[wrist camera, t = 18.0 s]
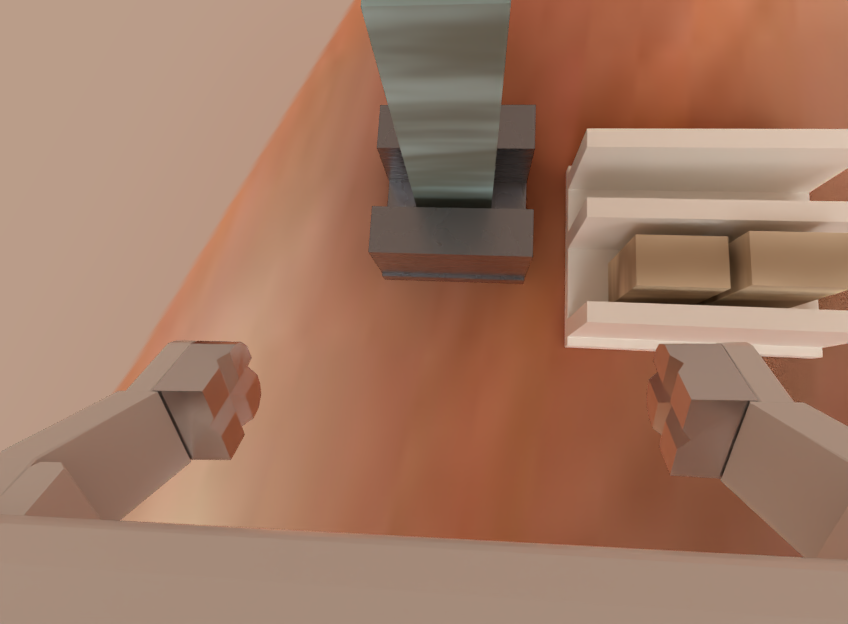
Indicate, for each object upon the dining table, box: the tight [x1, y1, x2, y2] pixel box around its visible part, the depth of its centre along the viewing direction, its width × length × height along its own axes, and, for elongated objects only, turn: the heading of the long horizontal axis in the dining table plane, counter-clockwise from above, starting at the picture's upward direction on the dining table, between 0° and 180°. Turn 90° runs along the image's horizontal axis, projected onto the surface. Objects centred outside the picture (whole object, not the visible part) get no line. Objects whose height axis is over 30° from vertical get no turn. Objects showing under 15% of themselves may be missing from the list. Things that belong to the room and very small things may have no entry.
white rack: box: [565, 128, 848, 359], centre depth 32 cm, size 13×16×7 cm
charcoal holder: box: [369, 105, 536, 284], centre depth 35 cm, size 10×10×6 cm
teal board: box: [361, 0, 511, 209], centre depth 27 cm, size 2×5×20 cm, turn 87°
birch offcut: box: [608, 234, 731, 305], centre depth 31 cm, size 3×5×6 cm, turn 87°
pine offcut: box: [696, 231, 848, 308], centre depth 30 cm, size 3×5×7 cm, turn 87°
